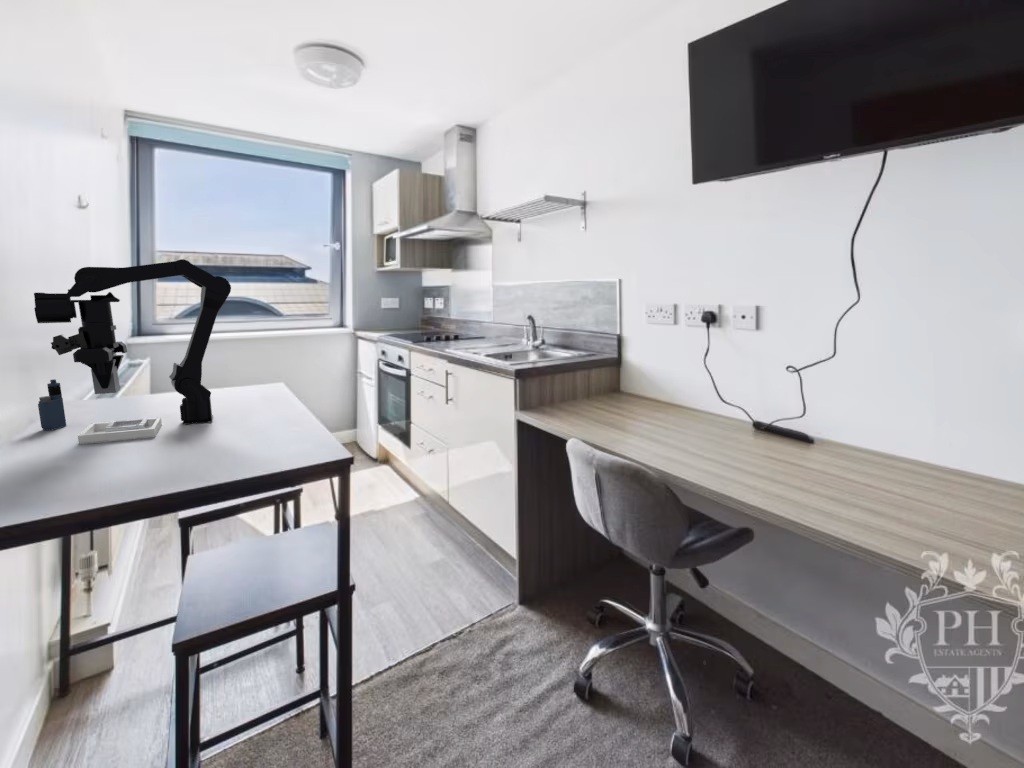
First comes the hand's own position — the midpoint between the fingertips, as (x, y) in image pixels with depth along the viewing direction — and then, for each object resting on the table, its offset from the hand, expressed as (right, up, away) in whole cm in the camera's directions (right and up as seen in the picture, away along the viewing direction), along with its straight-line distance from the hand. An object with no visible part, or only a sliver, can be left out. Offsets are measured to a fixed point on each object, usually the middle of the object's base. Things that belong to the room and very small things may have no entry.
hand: (107, 386), depth 119 cm
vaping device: (-17, -11, +5) cm, 20 cm away
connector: (0, -1, 0) cm, 1 cm away
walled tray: (+4, -11, 0) cm, 12 cm away
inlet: (+5, -11, +1) cm, 12 cm away
